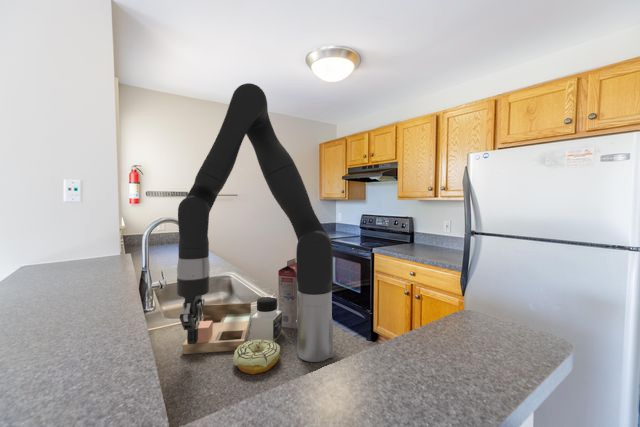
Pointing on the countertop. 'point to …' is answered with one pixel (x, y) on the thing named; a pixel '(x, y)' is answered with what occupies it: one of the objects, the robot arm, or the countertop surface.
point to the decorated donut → (256, 356)
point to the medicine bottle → (266, 320)
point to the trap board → (223, 327)
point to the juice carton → (288, 294)
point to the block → (205, 331)
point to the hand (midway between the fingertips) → (192, 342)
